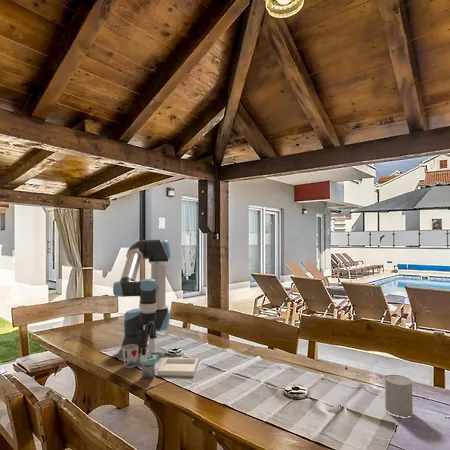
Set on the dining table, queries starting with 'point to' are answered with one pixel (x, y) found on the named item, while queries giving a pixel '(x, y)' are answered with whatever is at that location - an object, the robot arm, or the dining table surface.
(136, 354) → the cup
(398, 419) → the dining table surface
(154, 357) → the ring
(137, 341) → the robot arm
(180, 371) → the tray
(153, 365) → the grey bottle
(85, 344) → the dining table surface
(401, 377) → the grey cylinder
